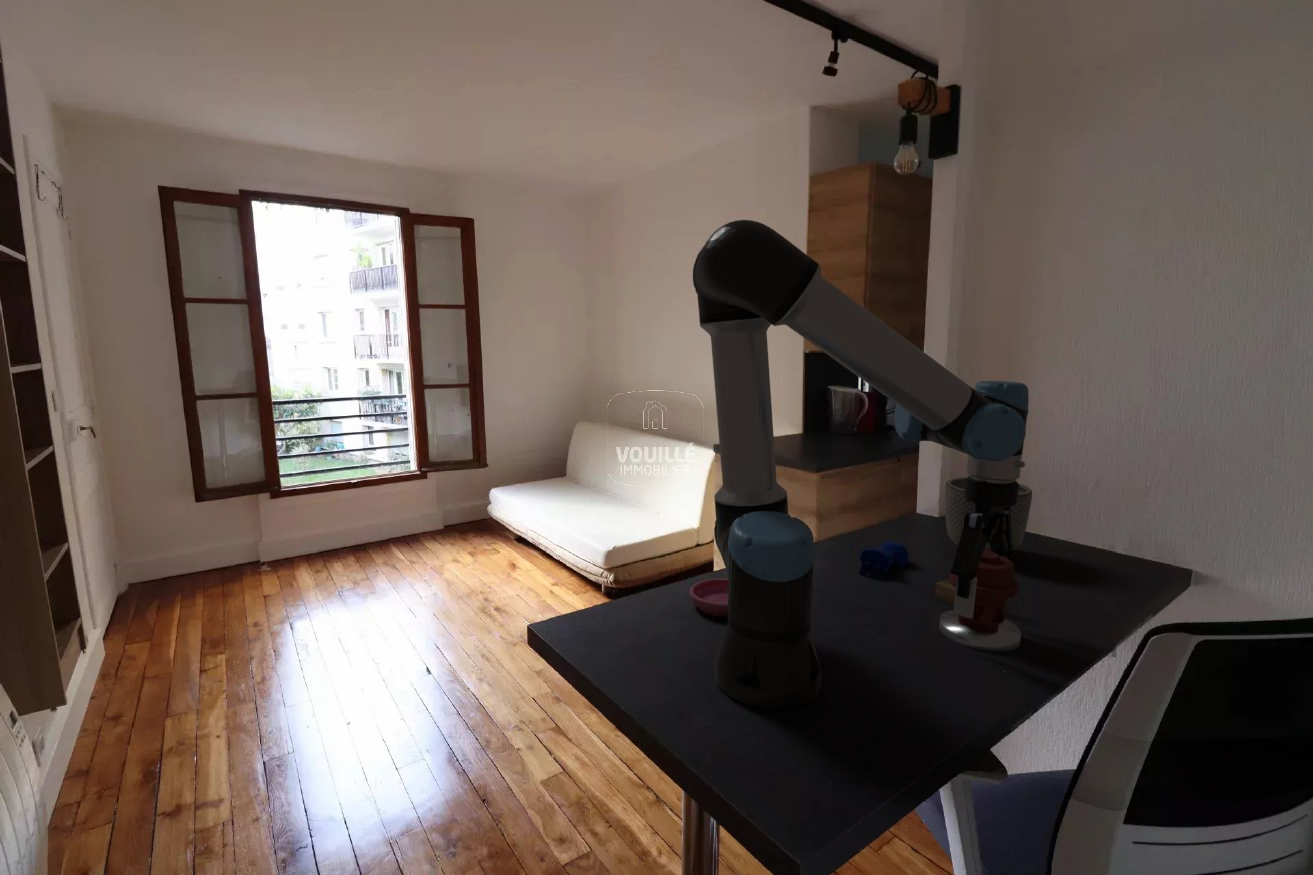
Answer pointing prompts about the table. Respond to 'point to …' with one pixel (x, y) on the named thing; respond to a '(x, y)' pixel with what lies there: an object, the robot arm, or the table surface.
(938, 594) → the brown wooden peg block
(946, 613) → the grey round disc
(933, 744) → the table surface
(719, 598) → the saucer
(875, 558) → the toy
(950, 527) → the planter
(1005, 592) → the mechanical component
